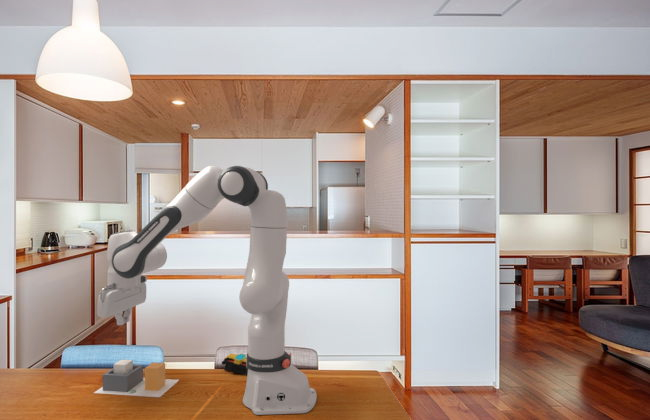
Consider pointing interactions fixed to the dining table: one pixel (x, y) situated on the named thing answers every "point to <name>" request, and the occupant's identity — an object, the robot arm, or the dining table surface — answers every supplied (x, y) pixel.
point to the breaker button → (123, 367)
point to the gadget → (235, 363)
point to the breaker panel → (131, 384)
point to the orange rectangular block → (154, 376)
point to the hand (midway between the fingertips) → (123, 323)
